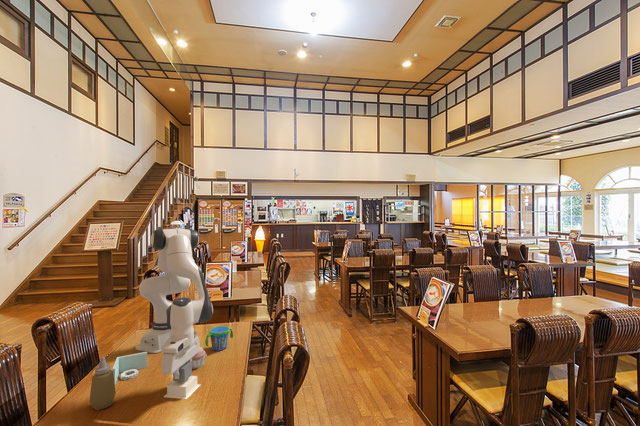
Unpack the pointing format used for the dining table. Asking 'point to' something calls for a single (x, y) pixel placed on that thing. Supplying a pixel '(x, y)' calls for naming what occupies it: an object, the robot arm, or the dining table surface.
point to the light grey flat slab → (182, 397)
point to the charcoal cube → (184, 372)
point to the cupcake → (199, 359)
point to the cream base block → (182, 387)
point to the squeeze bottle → (102, 386)
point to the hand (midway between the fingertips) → (182, 373)
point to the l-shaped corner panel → (129, 365)
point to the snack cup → (219, 337)
